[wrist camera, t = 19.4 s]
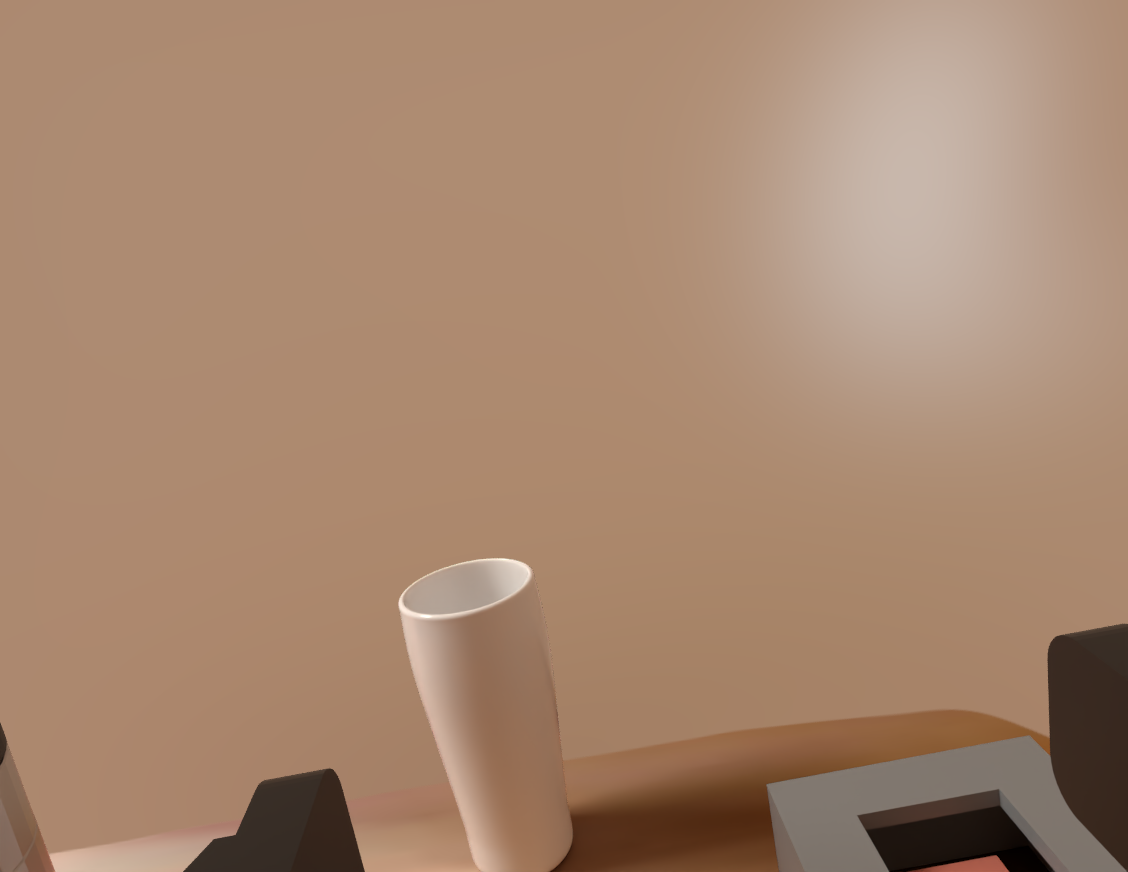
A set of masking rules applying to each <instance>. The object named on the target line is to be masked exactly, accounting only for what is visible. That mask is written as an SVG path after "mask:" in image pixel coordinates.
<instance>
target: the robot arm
mask: <svg viewBox="0 0 1128 872" xmlns="http://www.w3.org/2000/svg"><path fill="white" fill-rule="evenodd" d="M1048 689H1049V724H1050V755H1051V764H1052V769H1053V773H1054V777H1055V779H1056V782H1057V785H1058V787H1059V790H1060V792H1061V794H1062V796H1063V798H1064V800H1065V802H1066V804H1067V805H1068V807H1069V808H1070V810H1071V811H1072V813H1073V814H1074V815H1075V817H1076V818H1077V819H1078V820H1079V821H1080V822H1081V823H1082V824H1083V825H1084V827H1085V828H1086V829H1087V830H1088V831H1089V832H1090V833H1091V834H1092V835H1093V836H1094V837H1095V838H1096V839H1097V840H1098V841H1099V842H1100V843H1101V845H1102V846H1103V847H1104V848H1105V849H1106V850H1107V851H1108V852H1109V853H1110V854H1111V855H1112V856H1113V857H1114V858H1115V859H1116V860H1117V861H1118V863H1119V864H1120V865H1121V866H1122V867H1123V868H1124V869H1125V870H1126V871H1127V872H1128V624H1120V625H1114V626H1108V627H1103V628H1097V629H1092V630H1087V631H1082V632H1076V633H1070V634H1065V635H1060V636H1057V637H1055V638H1054V639H1053V640H1052V642H1051V643H1050V646H1049V649H1048ZM0 872H55V870H54V867H53V865H52V862H51V859H50V856H49V854H48V851H47V848H46V846H45V844H44V840H43V838H42V835H41V832H40V829H39V827H38V824H37V821H36V819H35V816H34V814H33V811H32V809H31V806H30V803H29V801H28V798H27V795H26V792H25V790H24V787H23V784H22V781H21V779H20V776H19V773H18V771H17V768H16V765H15V762H14V760H13V757H12V755H11V751H10V749H9V746H8V744H7V741H6V737H5V734H4V731H3V729H2V726H1V724H0ZM183 872H365V871H364V867H363V864H362V860H361V856H360V853H359V849H358V845H357V841H356V838H355V834H354V830H353V827H352V823H351V819H350V816H349V812H348V808H347V804H346V801H345V797H344V793H343V790H342V786H341V783H340V780H339V778H338V776H337V774H336V773H335V772H334V770H333V769H323V770H319V771H313V772H307V773H302V774H296V775H291V776H286V777H281V778H275V779H269V780H264V781H262V782H261V783H260V784H259V785H258V787H257V789H256V790H255V793H254V795H253V797H252V799H251V802H250V804H249V806H248V808H247V811H246V813H245V815H244V817H243V820H242V822H241V824H240V827H239V829H238V831H237V833H236V835H234V836H228V837H223V838H218V839H214V840H213V841H212V842H211V843H210V844H209V845H208V846H207V847H206V848H205V849H204V850H203V851H202V852H201V853H200V855H199V856H198V857H197V858H196V859H195V860H194V861H193V862H192V863H191V864H190V865H189V866H188V867H187V868H186V869H185V870H184V871H183Z"/></svg>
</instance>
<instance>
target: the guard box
mask: <svg viewBox="0 0 1128 872" xmlns="http://www.w3.org/2000/svg"><path fill="white" fill-rule="evenodd" d="M767 791H768V798H769V805H770V812H771V819H772V826H773V833H774V840H775V847H776V854H777V861H778V868H779V872H889V871H894V870H899V869H905V868H910V867H916V866H921V865H926V864H932V863H937V862H943V861H948V860H954V859H959V858H964V857H970V856H975V855H981V854H986V853H991V852H997V851H1002V850H1008V849H1013V848H1018V847H1024V846H1029V847H1030V849H1031V850H1032V851H1033V852H1034V854H1035V855H1036V856H1037V857H1038V858H1039V860H1040V861H1041V862H1042V863H1043V864H1044V866H1045V867H1046V868H1047V869H1048V871H1049V872H1127V871H1126V870H1125V869H1124V868H1123V867H1122V866H1121V865H1120V864H1119V863H1118V861H1117V860H1116V859H1115V858H1114V857H1113V856H1112V855H1111V854H1110V853H1109V852H1108V851H1107V850H1106V849H1105V848H1104V847H1103V846H1102V845H1101V843H1100V842H1099V841H1098V840H1097V839H1096V838H1095V837H1094V836H1093V835H1092V834H1091V833H1090V832H1089V831H1088V830H1087V829H1086V828H1085V827H1084V825H1083V824H1082V823H1081V822H1080V821H1079V820H1078V819H1077V818H1076V817H1075V815H1074V814H1073V813H1072V811H1071V810H1070V808H1069V807H1068V805H1067V804H1066V802H1065V800H1064V798H1063V796H1062V794H1061V792H1060V790H1059V787H1058V785H1057V782H1056V779H1055V777H1054V773H1053V769H1052V764H1051V756H1049V755H1048V754H1047V753H1046V752H1045V751H1044V750H1043V749H1042V748H1041V747H1040V746H1039V745H1038V744H1037V743H1036V742H1035V741H1034V740H1033V739H1032V738H1031V737H1030V736H1024V737H1019V738H1013V739H1008V740H1002V741H997V742H992V743H986V744H981V745H975V746H970V747H965V748H959V749H954V750H948V751H943V752H938V753H932V754H927V755H921V756H916V757H911V758H905V759H900V760H894V761H889V762H884V763H878V764H873V765H867V766H862V767H856V768H851V769H846V770H840V771H835V772H829V773H824V774H819V775H813V776H808V777H802V778H797V779H792V780H786V781H781V782H775V783H770V784H767Z"/></svg>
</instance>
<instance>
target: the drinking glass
mask: <svg viewBox="0 0 1128 872" xmlns="http://www.w3.org/2000/svg"><path fill="white" fill-rule="evenodd" d="M399 610H400V615H401V621H402V627H403V632H404V637H405V642H406V647H407V651H408V656H409V660H410V664H411V668H412V672H413V675H414V679H415V682H416V685H417V689H418V692H419V695H420V698H421V701H422V704H423V707H424V709H425V713H426V716H427V718H428V721H429V724H430V727H431V730H432V733H433V736H434V739H435V742H436V744H437V747H438V750H439V753H440V756H441V759H442V762H443V764H444V767H445V771H446V774H447V776H448V779H449V782H450V785H451V788H452V791H453V794H454V797H455V800H456V803H457V806H458V809H459V812H460V815H461V818H462V821H463V824H464V827H465V830H466V834H467V838H468V843H469V847H470V851H471V855H472V858H473V861H474V863H475V865H476V866H477V868H478V869H479V870H480V871H481V872H550V871H551V870H553V869H554V868H555V867H557V866H558V865H559V864H560V863H561V862H562V861H563V859H564V858H565V857H566V855H567V854H568V852H569V850H570V847H571V844H572V840H573V826H572V821H571V816H570V811H569V806H568V801H567V793H566V784H565V776H564V767H563V758H562V749H561V740H560V731H559V721H558V712H557V704H556V693H555V684H554V673H553V665H552V656H551V649H550V643H549V637H548V631H547V626H546V621H545V616H544V612H543V607H542V603H541V599H540V595H539V591H538V587H537V583H536V580H535V575H534V572H533V570H532V569H531V567H530V566H528V565H527V564H525V563H523V562H520V561H517V560H512V559H502V558H495V559H481V560H474V561H468V562H463V563H459V564H455V565H452V566H449V567H446V568H443V569H440V570H437V571H435V572H433V573H430V574H428V575H426V576H424V577H422V578H421V579H419V580H417V581H416V582H414V583H413V584H411V585H410V586H409V587H408V588H407V589H406V590H405V591H404V592H403V594H402V595H401V597H400V599H399Z"/></svg>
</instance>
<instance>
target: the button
mask: <svg viewBox="0 0 1128 872" xmlns="http://www.w3.org/2000/svg"><path fill="white" fill-rule="evenodd" d="M908 872H1009V871H1008V870H1007V868H1006V867H1005V866H1004V864H1003V863H1002V862H1001V860H1000V859H999V858H998V857H997V855H995V856H990V857H984V858H979V859H973V860H968V861H963V862H957V863H952V864H946V865H941V866H935V867H930V868H925V869H919V870H914V871H908Z"/></svg>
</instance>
